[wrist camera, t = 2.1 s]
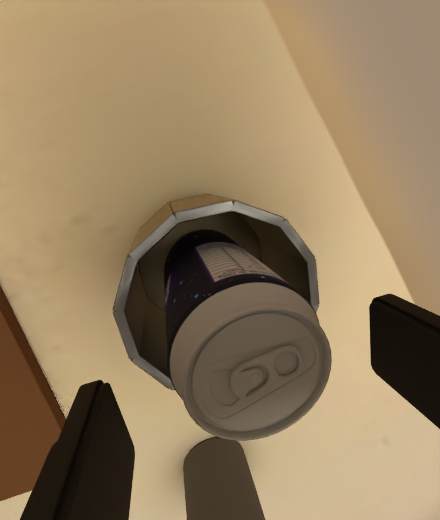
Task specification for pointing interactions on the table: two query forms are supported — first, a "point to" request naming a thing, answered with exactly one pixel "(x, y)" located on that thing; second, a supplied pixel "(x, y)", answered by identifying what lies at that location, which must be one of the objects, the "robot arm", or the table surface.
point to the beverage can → (239, 340)
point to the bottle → (220, 483)
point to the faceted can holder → (131, 287)
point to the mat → (23, 410)
